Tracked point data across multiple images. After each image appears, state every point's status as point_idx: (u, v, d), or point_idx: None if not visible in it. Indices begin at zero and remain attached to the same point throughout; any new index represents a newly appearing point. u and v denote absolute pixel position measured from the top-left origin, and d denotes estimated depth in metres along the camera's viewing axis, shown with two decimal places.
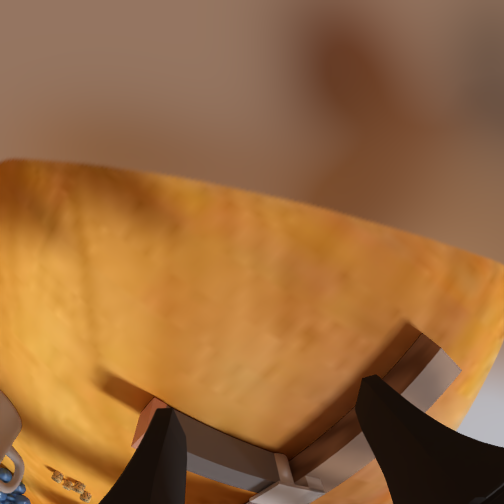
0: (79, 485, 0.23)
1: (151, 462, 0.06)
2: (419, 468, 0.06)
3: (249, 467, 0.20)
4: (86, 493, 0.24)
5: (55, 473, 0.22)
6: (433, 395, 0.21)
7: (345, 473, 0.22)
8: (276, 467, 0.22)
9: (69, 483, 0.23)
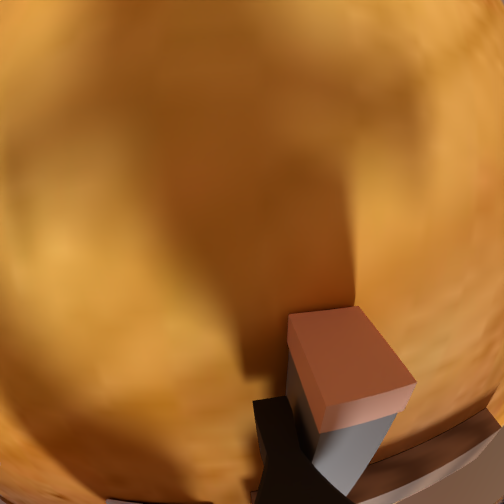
0: None
1: (292, 451, 0.07)
2: None
3: None
4: None
5: None
6: (455, 469, 0.16)
7: None
8: None
9: None
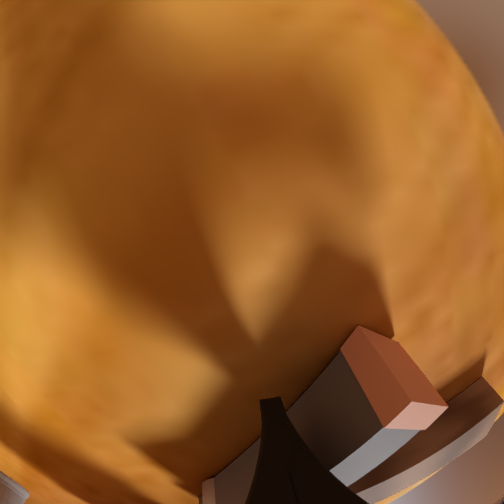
0: None
1: (284, 453, 0.07)
2: None
3: None
4: None
5: None
6: (455, 455, 0.13)
7: None
8: None
9: None
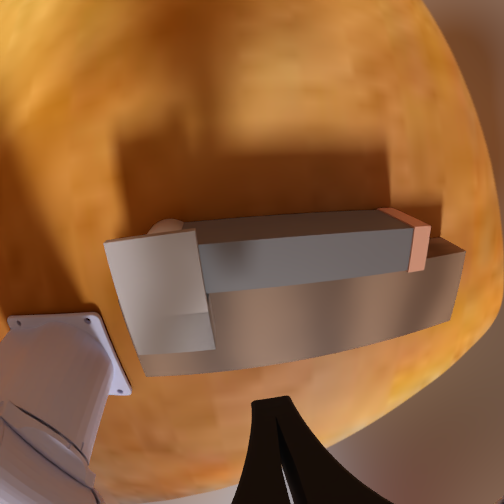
0: None
1: (272, 455, 0.07)
2: None
3: None
4: None
5: None
6: (419, 318, 0.18)
7: (249, 350, 0.16)
8: None
9: None
